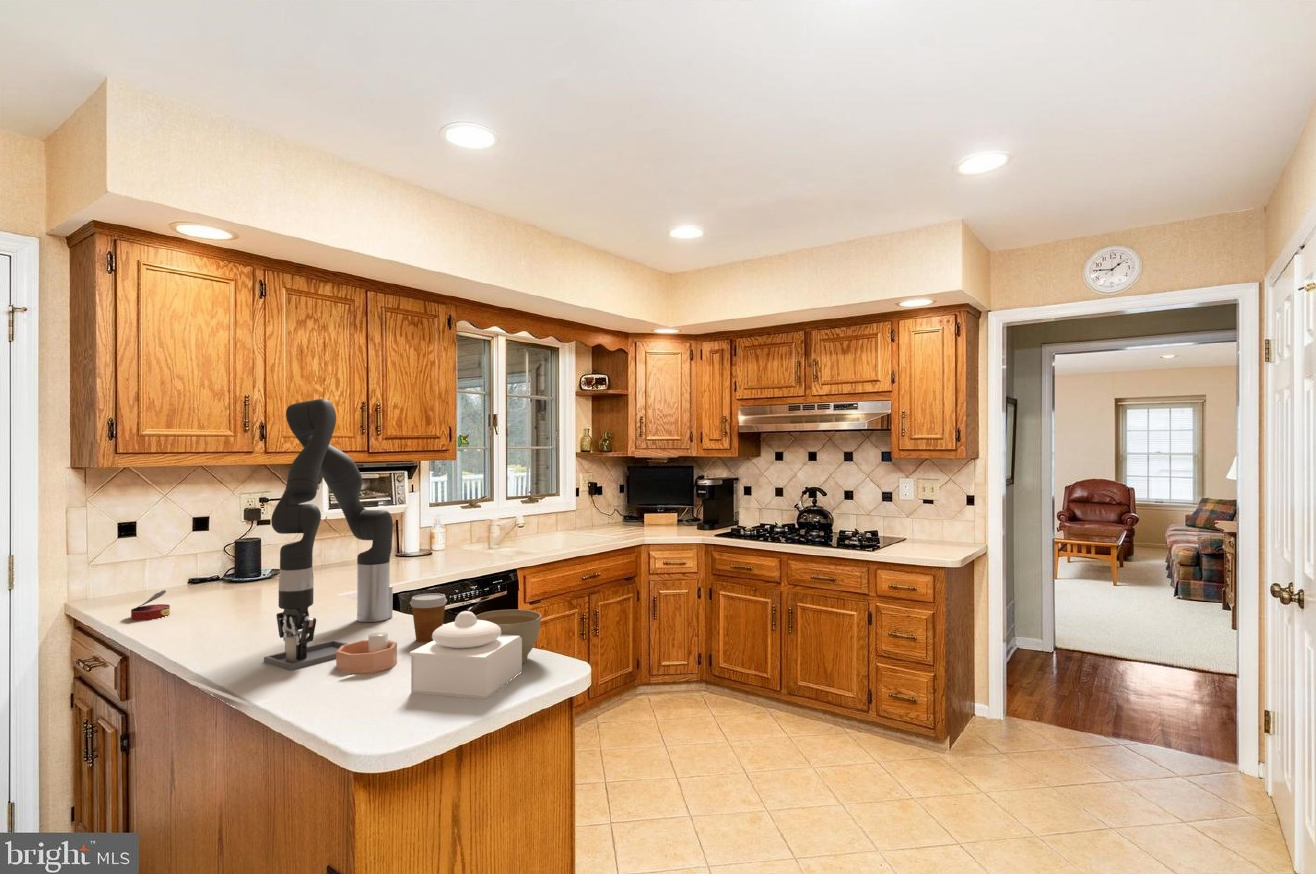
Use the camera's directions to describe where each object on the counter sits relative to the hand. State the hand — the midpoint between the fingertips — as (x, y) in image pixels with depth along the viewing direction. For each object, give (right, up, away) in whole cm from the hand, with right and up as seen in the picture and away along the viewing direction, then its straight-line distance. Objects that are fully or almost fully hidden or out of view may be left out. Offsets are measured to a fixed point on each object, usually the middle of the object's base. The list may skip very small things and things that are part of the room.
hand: (295, 657), depth 169 cm
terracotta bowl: (+18, -1, -2) cm, 18 cm away
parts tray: (+2, -2, +4) cm, 5 cm away
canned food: (-71, -3, +49) cm, 87 cm away
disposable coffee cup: (+26, -2, +19) cm, 32 cm away
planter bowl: (+51, -1, +1) cm, 51 cm away
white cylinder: (+20, -1, 0) cm, 20 cm away
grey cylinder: (0, -1, 0) cm, 1 cm away
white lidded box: (+45, -1, -14) cm, 48 cm away
